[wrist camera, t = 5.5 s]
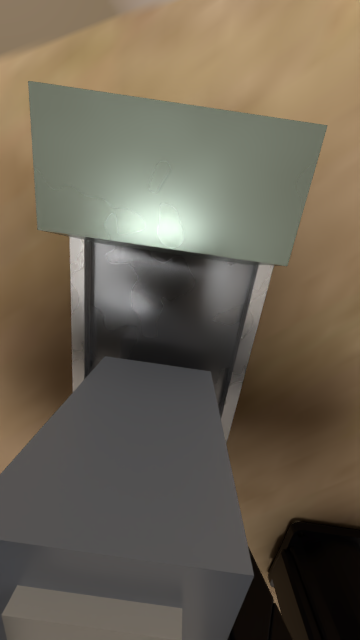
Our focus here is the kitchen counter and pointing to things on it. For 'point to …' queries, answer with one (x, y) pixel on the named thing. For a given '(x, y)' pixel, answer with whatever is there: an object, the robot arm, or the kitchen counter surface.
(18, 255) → the kitchen counter surface
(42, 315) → the kitchen counter surface
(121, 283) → the rail
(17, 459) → the block
